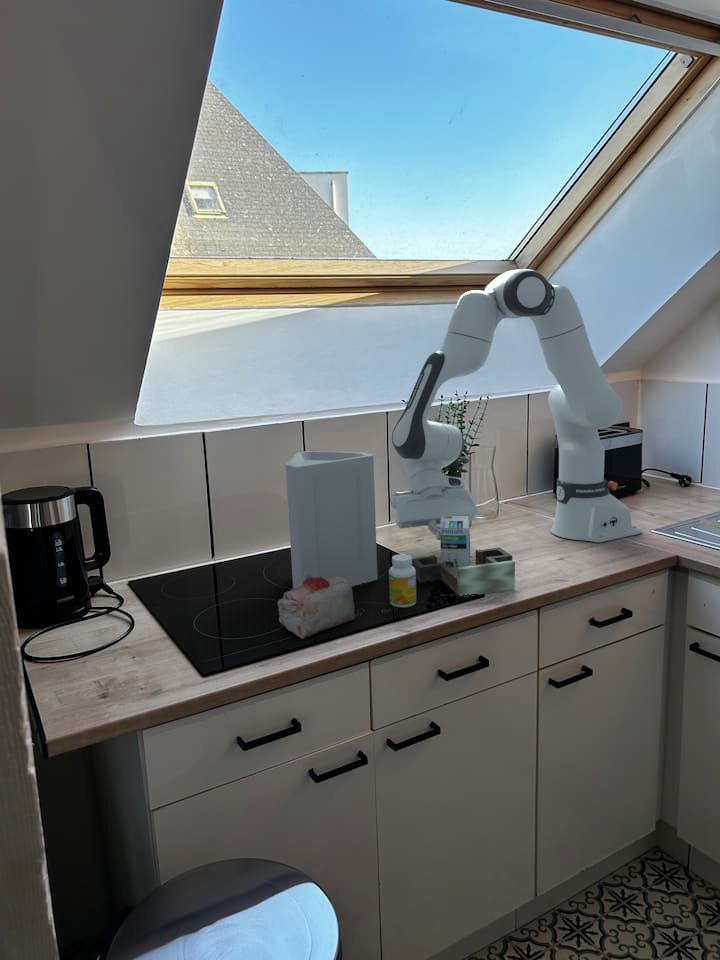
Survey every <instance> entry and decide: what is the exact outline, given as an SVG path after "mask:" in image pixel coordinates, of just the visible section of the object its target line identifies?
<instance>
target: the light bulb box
mask: <svg viewBox="0 0 720 960" xmlns="http://www.w3.org/2000/svg"><path fill="white" fill-rule="evenodd" d="M470 528H471V527H470V521H469V516H442V517H441V523H440V524H439V530H440V540H439V541H440V563H445V564H446V565H447V566H448V567H450V568H451V569H452V570H453V571H454V572H456V573H457V568H458V567H465V566H471V534H470V533H471V532H470V530H471V529H470Z"/></svg>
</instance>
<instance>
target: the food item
mask: <svg viewBox="0 0 720 960" xmlns="http://www.w3.org/2000/svg"><path fill="white" fill-rule="evenodd" d="M277 606H278V608H277V609H278V615H279V617H278V621H279V623H280V624H281V625H282V626H285V628H286V629H287V631H289V632H292V633H293V634H294V635H295V636H297V637H299V638H301V639H302V640H304V639H306V638H309V637H311V636H313V635H316V634H318V633H319V632H323V631H325V630H328V629H331V628H334V627H337V626H340V625H342V624H345V623H347V622H351V621H354V620H355V619H356V617H357V616H356V615H355V601H354V592H353V586H352V587H351V583H350V582H347V581H346V580H345V579H344V578H342V577H339V576H334V577H331V578H327V579H324V578H322V577H319V578H318V577H316V578H313V577H311V575H309V574H308V575H307V578H306V579H305V580H304V581H303V586H300V587H297V588H294V589H293V588H292V589H290V590H289V591H286V592H283V596H282V598H280V599H278V601H277Z"/></svg>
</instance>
